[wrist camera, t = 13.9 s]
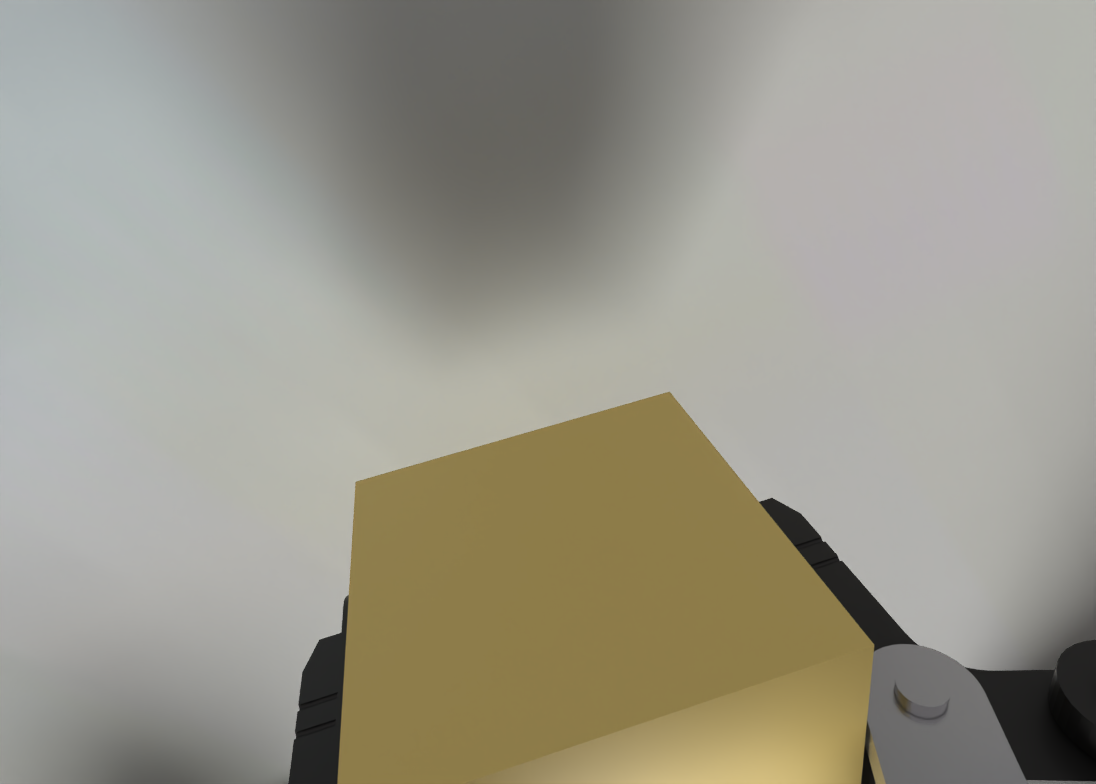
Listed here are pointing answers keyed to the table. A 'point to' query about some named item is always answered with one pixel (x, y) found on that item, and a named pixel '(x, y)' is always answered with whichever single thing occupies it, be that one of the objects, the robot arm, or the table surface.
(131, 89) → the table surface
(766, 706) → the mustard brick
